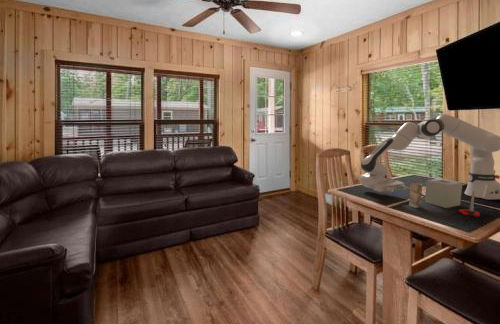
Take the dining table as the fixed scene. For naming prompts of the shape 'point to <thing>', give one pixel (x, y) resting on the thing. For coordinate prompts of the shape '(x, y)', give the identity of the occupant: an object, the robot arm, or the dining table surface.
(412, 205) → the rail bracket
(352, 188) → the dining table surface
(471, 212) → the red base grey post
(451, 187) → the white tissue box
